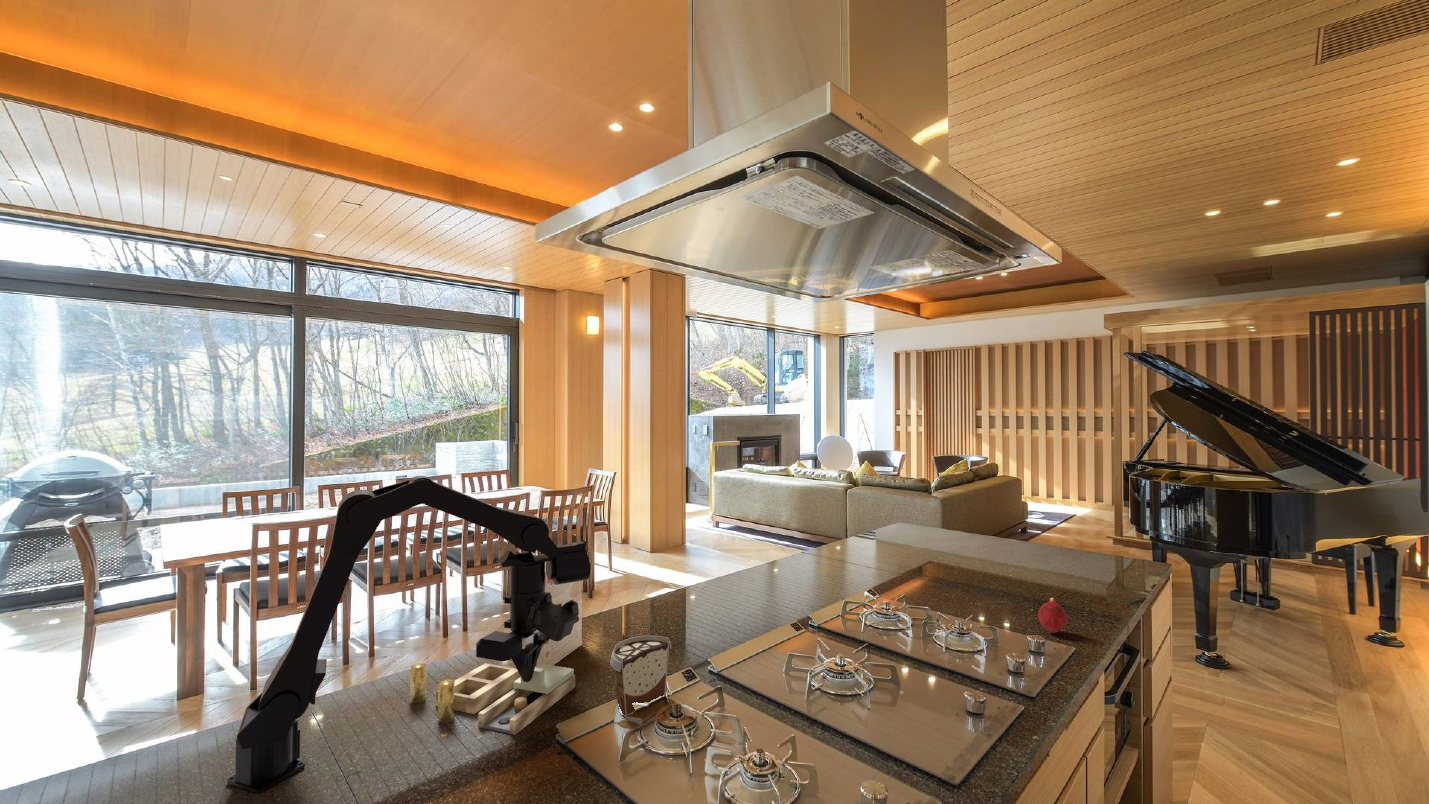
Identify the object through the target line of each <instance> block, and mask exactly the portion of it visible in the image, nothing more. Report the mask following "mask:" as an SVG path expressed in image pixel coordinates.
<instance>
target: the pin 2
mask: <svg viewBox="0 0 1429 804" xmlns="http://www.w3.org/2000/svg"><path fill="white" fill-rule="evenodd" d="M454 681H455V680H454V679H444V680H442V681H440V682H438V683H437V684H438V685H437V689H438V690H437V691H438V706H437V722H438V724H441V725H442V724H443V725H444V724H445V725H446V724H450V723H451V722H453V721H454V720H455V710H454Z"/></svg>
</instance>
